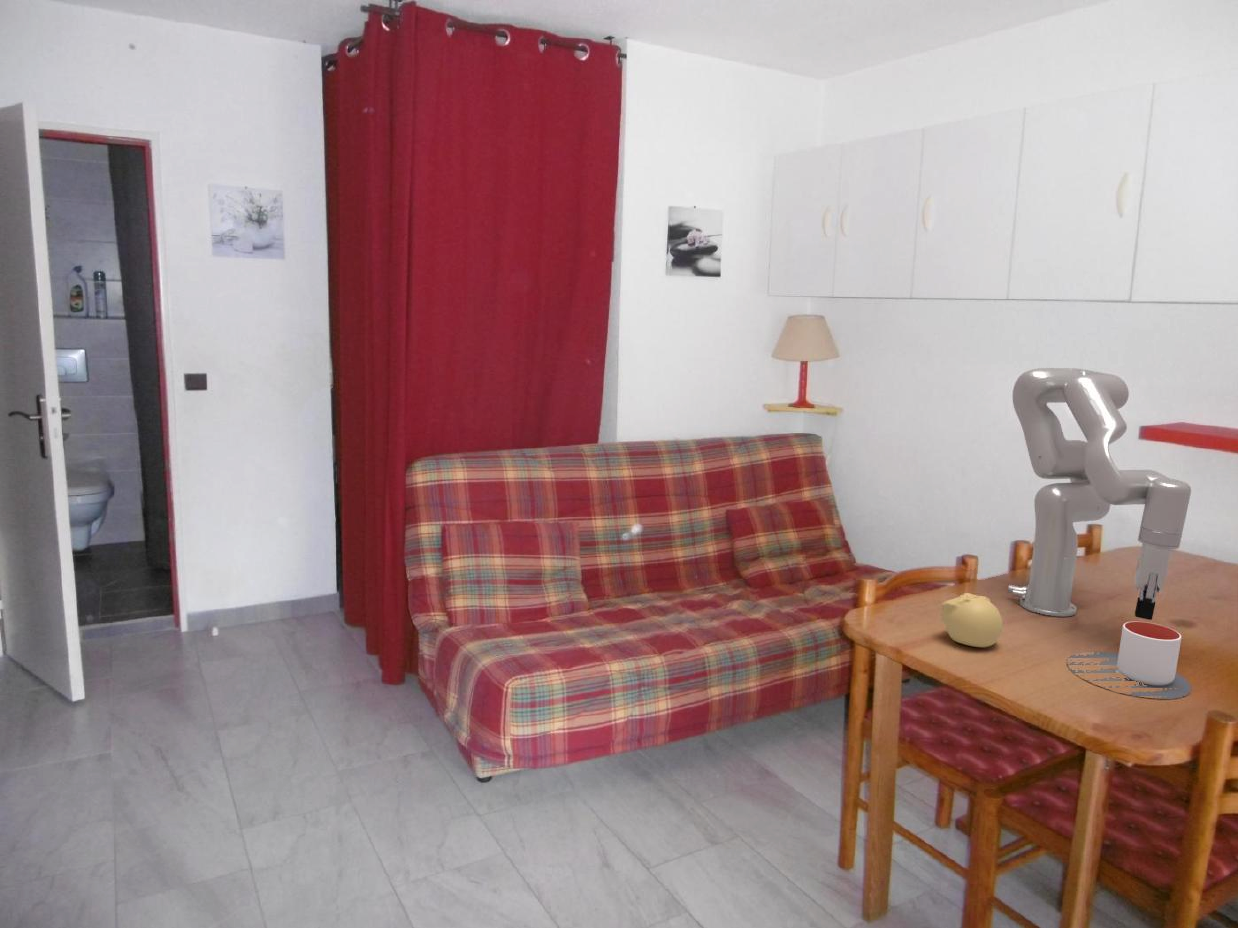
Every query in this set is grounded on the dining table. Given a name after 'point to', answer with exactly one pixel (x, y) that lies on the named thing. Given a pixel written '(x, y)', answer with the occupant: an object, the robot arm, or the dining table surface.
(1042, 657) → the dining table surface
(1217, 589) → the dining table surface
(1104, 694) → the dining table surface
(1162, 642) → the cup
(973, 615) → the sculpture
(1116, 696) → the dining table surface
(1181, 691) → the mat
